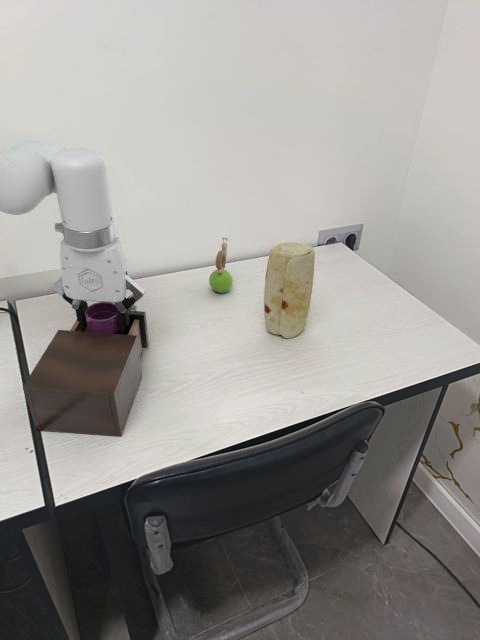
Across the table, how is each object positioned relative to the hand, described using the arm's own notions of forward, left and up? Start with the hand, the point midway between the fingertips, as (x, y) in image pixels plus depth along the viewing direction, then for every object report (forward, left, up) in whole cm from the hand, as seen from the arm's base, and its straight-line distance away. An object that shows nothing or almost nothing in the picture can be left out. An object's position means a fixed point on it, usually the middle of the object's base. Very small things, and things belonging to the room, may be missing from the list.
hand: (104, 325), depth 89 cm
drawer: (0, +1, -7) cm, 8 cm away
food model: (+33, +14, -9) cm, 37 cm away
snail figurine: (+18, +29, -9) cm, 35 cm away
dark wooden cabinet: (0, -11, -8) cm, 14 cm away
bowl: (0, 0, -1) cm, 1 cm away
